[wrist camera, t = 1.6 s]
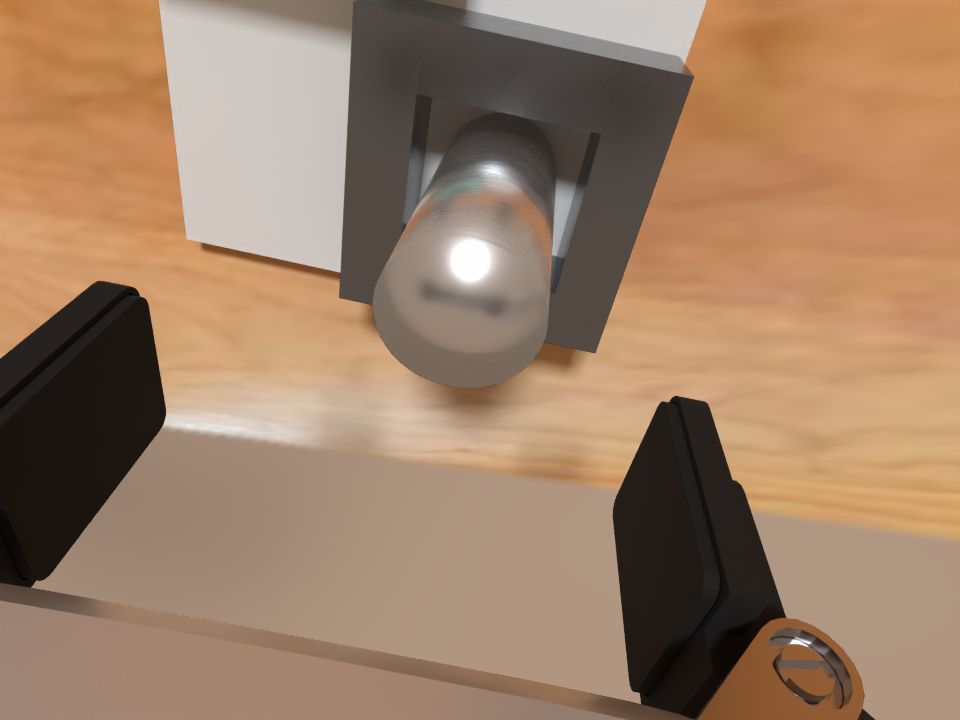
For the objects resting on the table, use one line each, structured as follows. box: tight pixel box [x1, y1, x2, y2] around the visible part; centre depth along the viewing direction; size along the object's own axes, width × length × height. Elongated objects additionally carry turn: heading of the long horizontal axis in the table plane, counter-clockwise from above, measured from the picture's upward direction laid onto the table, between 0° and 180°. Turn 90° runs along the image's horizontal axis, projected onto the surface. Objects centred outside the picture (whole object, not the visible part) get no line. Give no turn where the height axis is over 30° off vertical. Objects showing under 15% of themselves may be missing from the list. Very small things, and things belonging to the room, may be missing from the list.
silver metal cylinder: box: [373, 113, 557, 388], centre depth 18 cm, size 4×4×10 cm
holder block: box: [339, 0, 694, 353], centre depth 21 cm, size 10×10×3 cm
